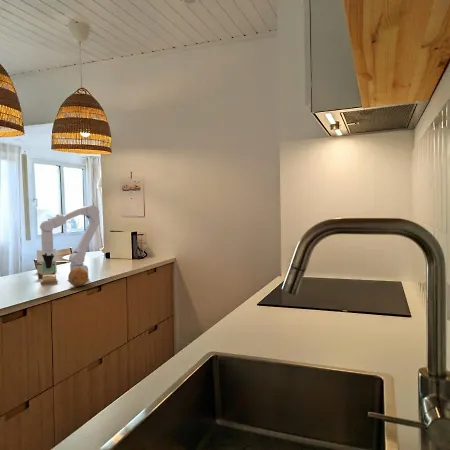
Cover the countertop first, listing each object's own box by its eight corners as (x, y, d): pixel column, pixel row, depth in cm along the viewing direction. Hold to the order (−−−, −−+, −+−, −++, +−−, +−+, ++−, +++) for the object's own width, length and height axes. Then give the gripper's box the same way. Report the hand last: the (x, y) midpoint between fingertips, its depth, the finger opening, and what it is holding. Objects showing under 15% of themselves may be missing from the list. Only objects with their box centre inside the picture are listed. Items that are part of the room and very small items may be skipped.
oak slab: (55, 280, 213) (55, 276, 213) (42, 281, 211) (42, 276, 211) (56, 278, 219) (56, 274, 219) (43, 279, 217) (43, 275, 217)
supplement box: (57, 271, 262) (56, 248, 261) (44, 272, 255) (43, 250, 254) (50, 270, 267) (49, 248, 267) (37, 271, 260) (36, 249, 260)
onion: (90, 284, 211) (90, 265, 210) (84, 287, 201) (84, 268, 200) (72, 284, 210) (71, 266, 210) (65, 288, 200) (65, 268, 200)
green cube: (52, 270, 213) (52, 261, 213) (42, 271, 211) (42, 262, 211) (52, 269, 218) (51, 260, 218) (42, 270, 215) (41, 261, 215)
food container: (61, 277, 235) (60, 260, 234) (55, 279, 229) (55, 262, 228) (41, 277, 236) (41, 261, 236) (35, 279, 230) (35, 262, 230)
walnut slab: (57, 285, 213) (57, 280, 213) (41, 286, 210) (41, 281, 209) (56, 282, 220) (56, 278, 220) (40, 284, 217) (40, 279, 216)
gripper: (38, 242, 219) (39, 266, 219) (40, 244, 206) (41, 269, 206) (52, 241, 222) (52, 265, 222) (54, 243, 209) (55, 268, 210)
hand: (48, 267), depth 215 cm, fingers closed on green cube, 5 cm apart
